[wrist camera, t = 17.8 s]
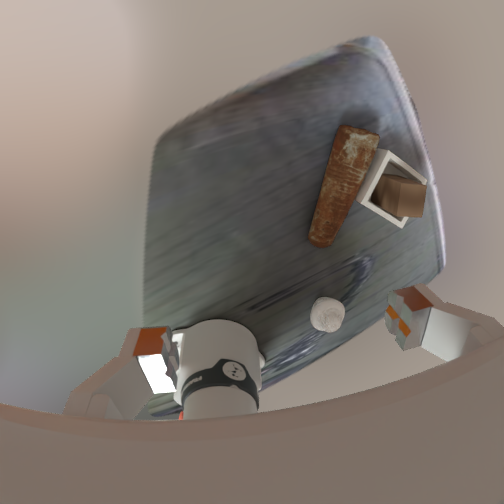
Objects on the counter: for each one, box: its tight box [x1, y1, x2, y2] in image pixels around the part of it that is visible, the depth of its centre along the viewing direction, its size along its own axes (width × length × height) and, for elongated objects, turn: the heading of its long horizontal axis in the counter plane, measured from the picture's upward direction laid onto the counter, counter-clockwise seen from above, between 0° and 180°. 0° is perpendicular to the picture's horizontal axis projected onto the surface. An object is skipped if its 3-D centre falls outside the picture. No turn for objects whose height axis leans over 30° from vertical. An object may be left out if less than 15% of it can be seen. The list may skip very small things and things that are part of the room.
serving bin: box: [354, 148, 428, 228], centre depth 42 cm, size 9×9×5 cm
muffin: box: [310, 297, 345, 333], centre depth 49 cm, size 6×6×7 cm
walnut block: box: [371, 173, 427, 217], centre depth 40 cm, size 5×5×8 cm
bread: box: [308, 125, 380, 248], centre depth 41 cm, size 6×19×6 cm, turn 162°
